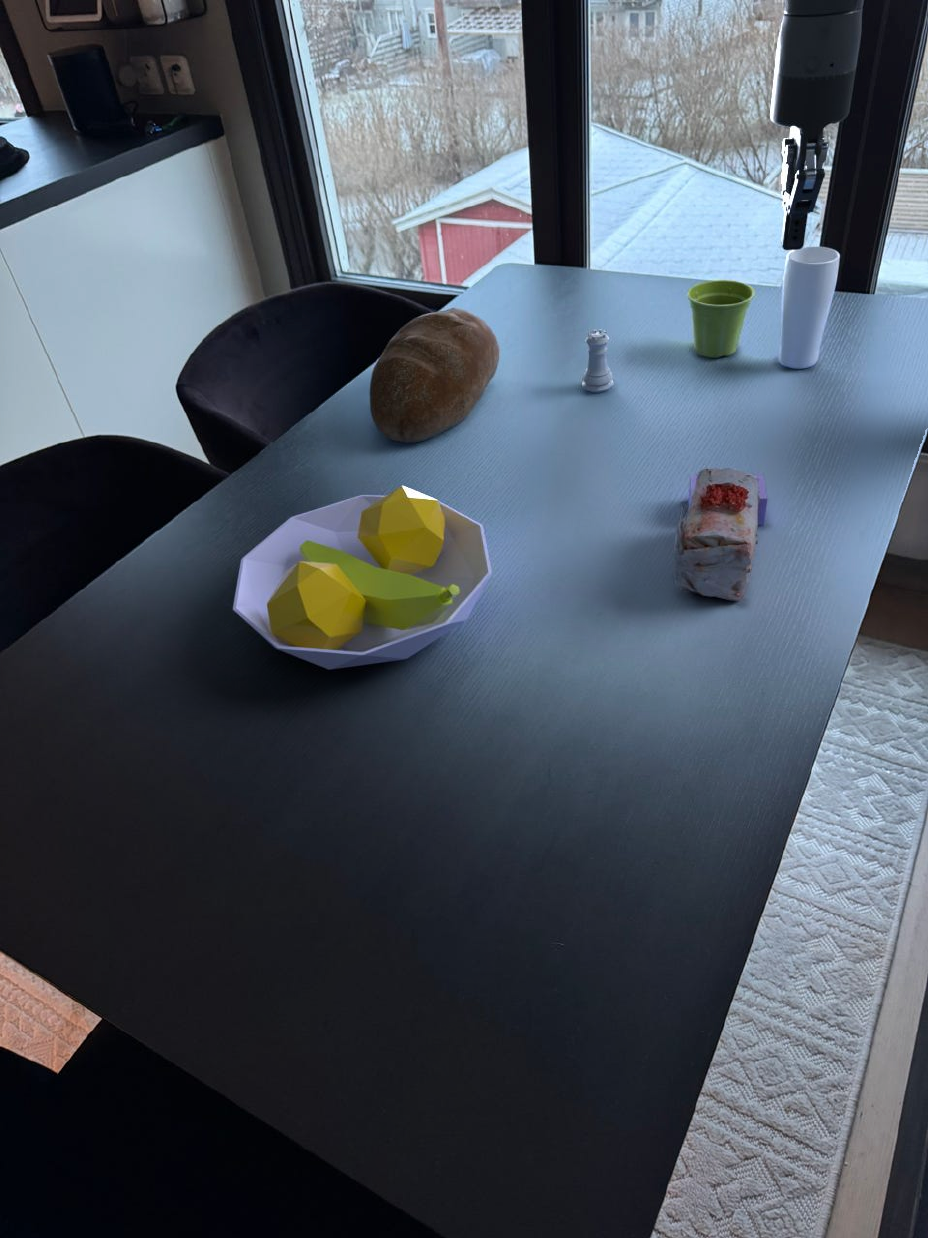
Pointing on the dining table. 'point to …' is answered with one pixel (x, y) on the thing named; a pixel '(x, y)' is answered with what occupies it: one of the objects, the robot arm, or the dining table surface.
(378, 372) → the bread
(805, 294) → the drinking glass
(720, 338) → the plant pot
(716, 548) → the food item
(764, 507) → the lavender block
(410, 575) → the fruit bowl
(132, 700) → the dining table surface
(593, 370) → the rook chess piece
